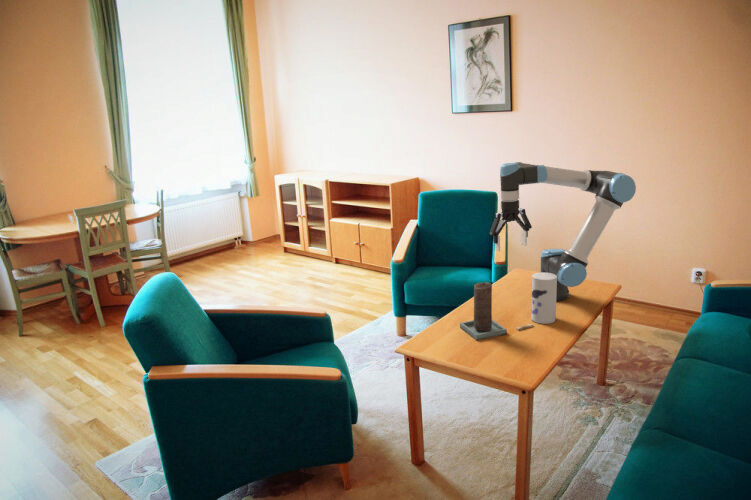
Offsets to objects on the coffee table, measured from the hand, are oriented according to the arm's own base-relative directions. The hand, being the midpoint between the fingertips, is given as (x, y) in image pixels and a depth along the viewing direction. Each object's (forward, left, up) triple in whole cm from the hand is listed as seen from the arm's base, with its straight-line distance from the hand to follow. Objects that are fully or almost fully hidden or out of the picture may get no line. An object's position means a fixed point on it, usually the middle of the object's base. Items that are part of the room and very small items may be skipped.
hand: (511, 247), depth 230 cm
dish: (+22, +13, -30) cm, 39 cm away
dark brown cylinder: (+22, +13, -30) cm, 39 cm away
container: (-7, +14, -30) cm, 34 cm away
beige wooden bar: (+5, +18, -30) cm, 36 cm away
